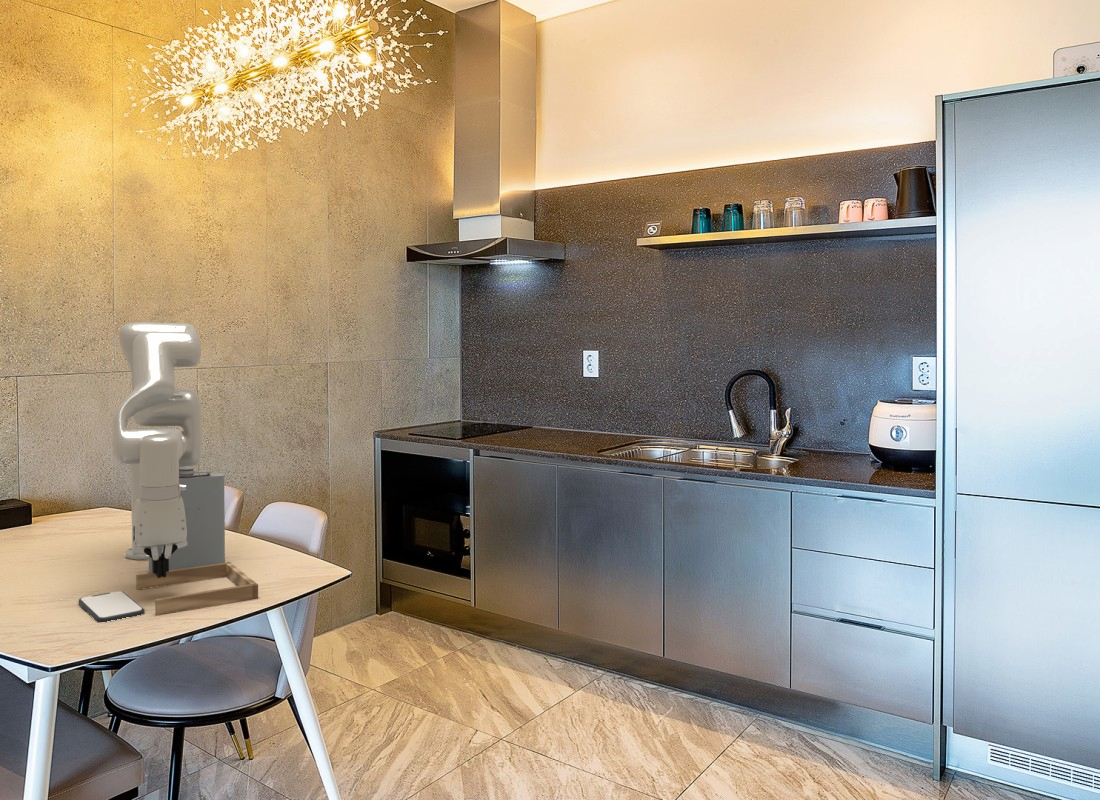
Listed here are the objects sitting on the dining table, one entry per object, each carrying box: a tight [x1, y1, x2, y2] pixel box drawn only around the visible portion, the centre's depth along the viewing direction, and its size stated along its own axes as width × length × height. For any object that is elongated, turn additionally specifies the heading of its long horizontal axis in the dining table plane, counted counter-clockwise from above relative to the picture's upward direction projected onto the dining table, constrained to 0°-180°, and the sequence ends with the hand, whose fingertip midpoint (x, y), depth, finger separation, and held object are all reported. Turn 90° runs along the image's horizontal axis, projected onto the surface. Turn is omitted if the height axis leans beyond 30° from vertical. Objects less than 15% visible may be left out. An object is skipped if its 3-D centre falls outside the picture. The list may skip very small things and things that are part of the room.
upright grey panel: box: [148, 466, 226, 573], centre depth 198 cm, size 17×5×25 cm, turn 131°
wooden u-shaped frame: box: [135, 561, 259, 615], centre depth 181 cm, size 21×20×3 cm
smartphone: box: [78, 590, 145, 623], centre depth 170 cm, size 9×2×16 cm
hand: (160, 575), depth 177 cm, fingers closed
